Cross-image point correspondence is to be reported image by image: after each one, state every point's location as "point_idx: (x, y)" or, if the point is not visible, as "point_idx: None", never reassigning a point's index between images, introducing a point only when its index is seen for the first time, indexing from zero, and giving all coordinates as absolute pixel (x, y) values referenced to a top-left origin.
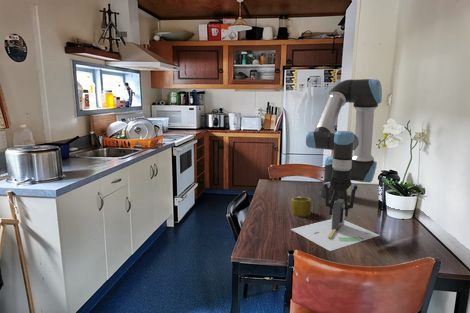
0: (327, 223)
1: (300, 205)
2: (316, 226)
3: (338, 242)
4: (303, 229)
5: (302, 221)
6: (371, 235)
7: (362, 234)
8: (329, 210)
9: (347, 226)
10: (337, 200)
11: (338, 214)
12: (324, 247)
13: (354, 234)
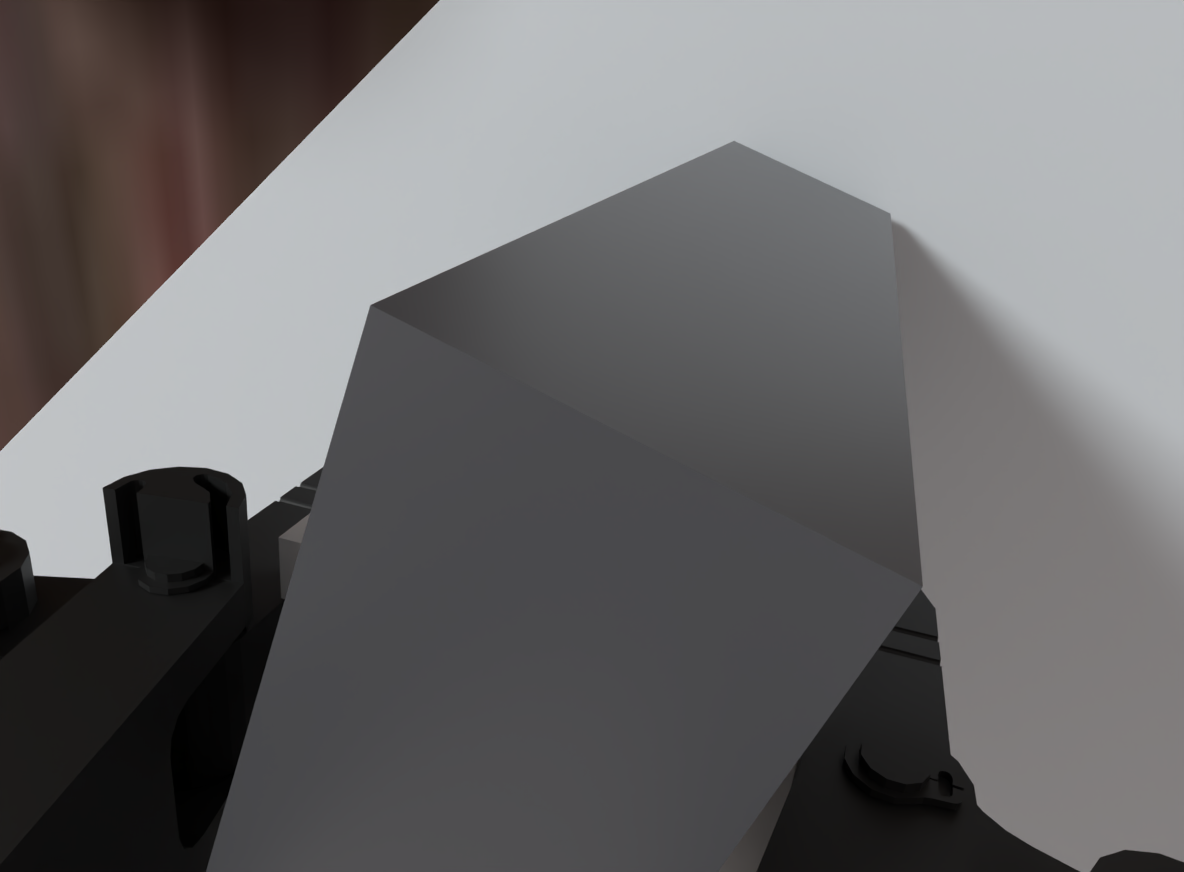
0: (494, 196)
1: None
2: (269, 396)
3: None
4: (86, 537)
5: (21, 5)
6: None
7: (1177, 779)
8: (273, 511)
9: (978, 345)
10: (270, 777)
11: None
12: None
13: (975, 765)
